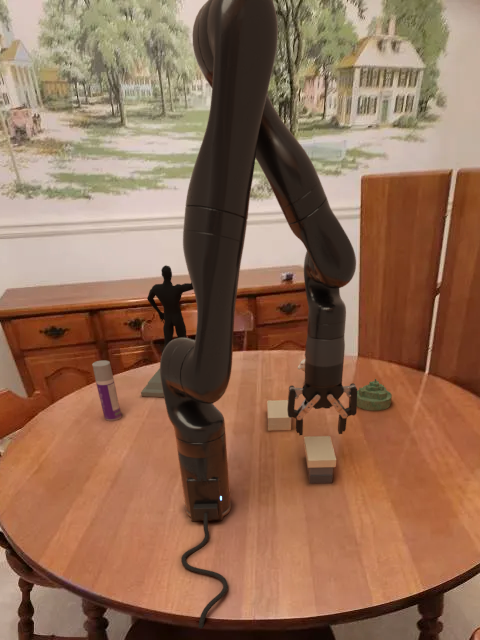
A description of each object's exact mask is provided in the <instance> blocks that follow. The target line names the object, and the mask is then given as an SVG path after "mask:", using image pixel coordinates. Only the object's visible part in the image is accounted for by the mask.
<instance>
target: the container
mask: <svg viewBox="0 0 480 640" xmlns="http://www.w3.org/2000/svg"><path fill="white" fill-rule="evenodd" d="M91 365H92V369H93V375H94V379H95V384H96V389H97V392H98V397H99V401H100V405H101V410H102V413H103V418H104V420H105V421H108V422H114V421H118V420H120V419H121V418H122V412H121V406H120V402H119V397H118V393H117V388H116V383H115V378H114V375H113V370H112V366H111V362H110V361H109V360H105V359H104V360H103V359H102V360H97V361H94V362H93V363H92V364H91Z"/></svg>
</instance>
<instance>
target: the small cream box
mask: <svg viewBox="0 0 480 640" xmlns="http://www.w3.org/2000/svg"><path fill="white" fill-rule="evenodd" d="M266 408H267V409H266V413H267V414H266V415H267V431H270V432H271V431H292V418H290V417H289V416H288V411H287V408H288V399H277V400H275V399H274V400H273V399H271V400H270V399H269V400H266Z"/></svg>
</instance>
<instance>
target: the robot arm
mask: <svg viewBox="0 0 480 640" xmlns="http://www.w3.org/2000/svg"><path fill="white" fill-rule="evenodd" d="M278 39H279V23H278V16H277V11H276V6H275V3H274V1H273V0H207V1H206V2H205V3H204V4H203V5H202V7H201V8H199V10H198V12H197V15H196V16H195V18H194V23H193V26H192V48H193V53H194V57H195V60H196V63H197V66H198V67H199V69H200V72H201V73H202V75H203V76H204V78H205V81H207V83H208V85H209V87H210V88H211V99H210V105H209V106H210V107H209V108H210V109H209V114H208V118H207V124H206V128H205V131H204V132H205V133H204V135H203V138H202V141H201V143H200V146H199V150H198V153H197V156H196V159H195V162H194V166H193V169H192V171H191V176H190V179H189V183H188V187H187V192H186V197H185V198H186V199H185V207H184V217H183V227H182V228H183V229H182V250H183V256H184V262H185V264H186V268H187V272H188V275H189V279H190V284H191V283H192V286H193V293H194V297H195V303H196V311H197V312H196V330H195V337H194V338H195V339H193V338H188V337H186V338H178V337H176V338H173V339H172V341H171V342H169V343H168V344H167V346H166V347H165V349H164V351H163V353H162V352H161V354H162V356H160V362H159V368H160V377H161V384H162V389H163V394H164V397H163V398H164V404H165V408H166V413H167V417H168V419H169V422H170V423H171V425H172V427H173V430H174V436H175V443H176V450H177V451H176V452H177V457H178V465H179V471H180V478H181V479H180V480H181V487H182V491H183V498H184V510H185V513H186V515H187V516H188V517H190V521H191V522H203V533H204V537H203V540H202V541H201V542H200V543H198V544H197V545H195V546H194V547H192V548H190V549H188V550H187V551H185V552H184V553H183V554H182V556H181V565H182V566H183V567H184V568H185V569H186V570H187V571H190V572H193V573H196V574H201V575H205V576H209V577H213V578H215V579H217V580H219V581H220V582H221V584H222V589H221V591H220V592H219V593H218V594H217V595H216V596H215V597H213V598H212V599H211V600H210V601H209V602H208V603H207V604H206V605H205V607H204V608H203V610H202V611H201V614H200V617H199V620H198V628H199V629H203V628H204V627H205V621H206V618H207V615H208V613H209V612H210V611H211V609H212V607H214V606H215V605H216V604H217V603H218V602H219V601H220V600H221V599H222V598H223V597H225V595H227V592H228V590H229V584H228V580H227V579H226V577H224V576H223V575H222V574H220V573H218V572H215V571H213V570H210V569H209V570H208V569H203V568H199V567H196V566H192V565H190V564H188V562H187V558H188V557H189V556H190V555H192V554H194V553H196V552H197V551H199V550H201V549H202V548H203V547H204V546H205V545H206V544H207V543H208V541H209V539H210V531H209V522H219V521H220V522H221V521H223V519H224V517H226V516H227V515H228V514H229V513H230V512H231V510H232V500H231V492H230V479H229V464H228V452H227V451H228V449H227V437H226V435H227V434H226V422H225V418H224V415H223V413H222V412H221V411H220V410H219V409H218V408H217V407H216V405H214V404H215V403H216V402H218V401H220V399H222V397H223V396H224V394H225V393H226V391H227V389H228V386H229V384H230V379H231V375H232V368H233V354H234V353H233V352H234V330H235V316H236V305H237V296H238V287H239V278H240V272H241V271H240V270H241V264H242V259H243V252H244V248H245V241H246V234H247V225H248V219H249V209H250V199H251V191H252V186H253V181H254V180H253V178H254V172H255V164H256V162H257V163H258V165H259V167H260V169H261V171H262V172H263V175H264V177H265V179H266V180H267V182H268V184H269V186H270V188H271V190H272V192H273V195H274V197H275V199H276V201H277V203H278V205H279V207H280V209H281V212H282V214H283V216H284V218H285V220H286V222H287V224H288V226H289V229H290V230H291V231H292V233H293V235H294V236H295V237H297V239H299V241H300V242H301V243H302V244H303V246H304V247H305V250H306V253H305V255H304V261H303V280H304V290H305V296H306V301H307V307H308V308H307V311H308V312H307V328H306V329H307V332H306V341H305V351H304V359H305V371H304V382H303V386H302V387H295V386H294V385H290V386H289V387H288V395H287V400H288V408H287V411H288V416H289V417H290V418H291V419H292V418H294V419H295V433H296V434H298V435H299V436H303V435H304V417H305V416H306V414H308V413H309V412H310V411H311V410H312V408H313V409H315V410H319V409H325V410H327V409H331V408H332V407H333V408H334V409H335V411H336V412H337V413H338V422H337V432H338V435H343V433H344V432H345V431H346V430H347V420H348V417H350V416H356V415H357V410H358V409H357V408H358V407H357V391H358V388H357V385H356V384H355V383H350V384H349V385H343V374H344V362H345V351H346V350H345V348H346V343H345V342H346V341H345V332H346V319H347V306H346V304H345V302H344V301H343V299H342V297H341V292H340V289H342V288H344V287H345V286H347V285H348V284H349V283H350V282H351V281H352V279H353V278H354V276H355V274H356V269H357V258H356V253H355V250H354V247H353V245H352V242H351V240H350V239H349V237H348V234H347V233H346V231H345V229H344V228H343V226H342V224H341V223H340V221H339V219H338V218H337V216H336V215H335V213H334V211H333V210H332V208H331V205H330V203H329V200H328V197H327V194H326V192H325V189H324V187H323V185H322V182H321V179H320V177H319V174H318V172H317V170H316V167H315V166H314V163H313V162H312V160H311V158H310V157H309V154H307V151H306V150H305V149H304V148H303V146H302V145H301V143H300V142H299V141H298V139H296V137H295V135H293V133H292V132H291V131H290V129H289V128H288V127H287V125H286V124H285V123H284V121H283V120H282V118H281V117H280V115H279V114H278V111H277V110H276V109H275V107H274V105H273V103H272V101H271V99H270V97H269V94H268V92H269V87H270V83H271V79H272V75H273V70H274V65H275V61H276V55H277V50H278V41H279V40H278ZM344 393H345V395H346V396H347V398H348V407H344V405H343V404H342V402H341V400H340V398H341V397H342V396H343V394H344ZM301 395H302V396H303V397H304V400H303V401H302V402H301V404H300V406H299V407H298V408H297V409H295V404H296V400H298V399H299V398H300V396H301Z"/></svg>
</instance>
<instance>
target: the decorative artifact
mask: <svg viewBox="0 0 480 640" xmlns="http://www.w3.org/2000/svg"><path fill="white" fill-rule="evenodd" d="M392 397H393V394H392V393H391V392H390V391H388V390H387V388H386V387H385V385H384V384H383V383H380V382H379V380H377V378H374V380H373V381H369V383H368V384H365V385H363V386H362V387H359V388H358V389H357V408H359V409H361V410H365V411H371V412H372V411H373V412H377V411H384V410H387V409H389V407H391V404H392Z"/></svg>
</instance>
